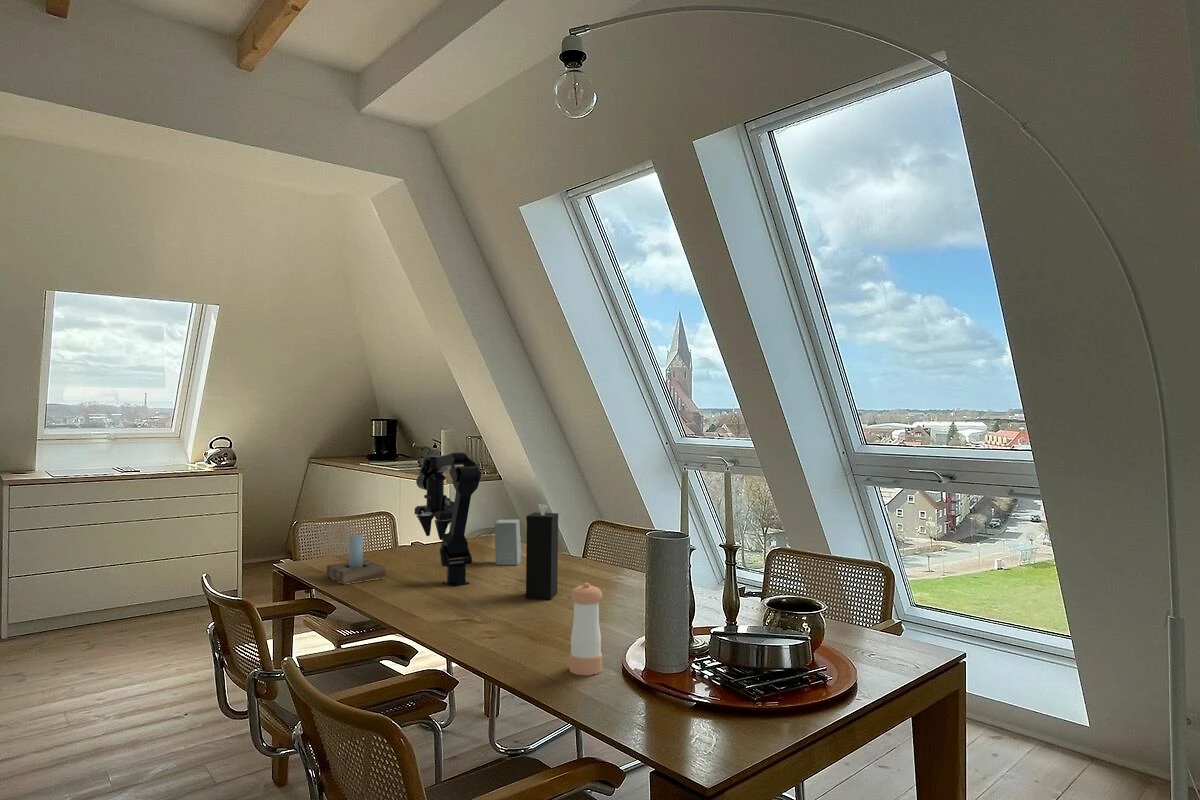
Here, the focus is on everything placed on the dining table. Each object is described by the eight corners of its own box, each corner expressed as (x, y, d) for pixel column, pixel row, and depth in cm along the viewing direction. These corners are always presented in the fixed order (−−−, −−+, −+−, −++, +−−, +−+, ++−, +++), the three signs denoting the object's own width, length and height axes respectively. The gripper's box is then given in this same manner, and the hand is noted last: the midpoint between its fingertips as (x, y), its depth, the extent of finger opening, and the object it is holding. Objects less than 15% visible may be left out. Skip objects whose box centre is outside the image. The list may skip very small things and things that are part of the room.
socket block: (385, 578, 256) (385, 566, 256) (343, 585, 246) (343, 572, 246) (366, 571, 266) (367, 559, 266) (326, 577, 257) (326, 565, 257)
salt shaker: (562, 671, 170) (563, 583, 170) (581, 662, 176) (582, 577, 176) (589, 678, 166) (590, 588, 166) (608, 668, 172) (609, 582, 172)
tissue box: (550, 600, 231) (551, 506, 231) (525, 598, 232) (526, 505, 232) (557, 593, 239) (558, 502, 239) (532, 592, 240) (533, 501, 240)
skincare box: (521, 562, 284) (521, 519, 284) (517, 566, 277) (517, 522, 277) (498, 561, 285) (498, 518, 285) (493, 565, 278) (494, 521, 278)
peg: (365, 577, 258) (365, 535, 258) (357, 580, 254) (358, 537, 254) (354, 576, 259) (354, 534, 259) (346, 579, 255) (346, 536, 255)
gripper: (470, 493, 264) (469, 539, 264) (442, 488, 278) (441, 531, 278) (440, 495, 256) (440, 542, 256) (414, 490, 270) (413, 535, 270)
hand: (434, 537), depth 265 cm, fingers open, 9 cm apart
